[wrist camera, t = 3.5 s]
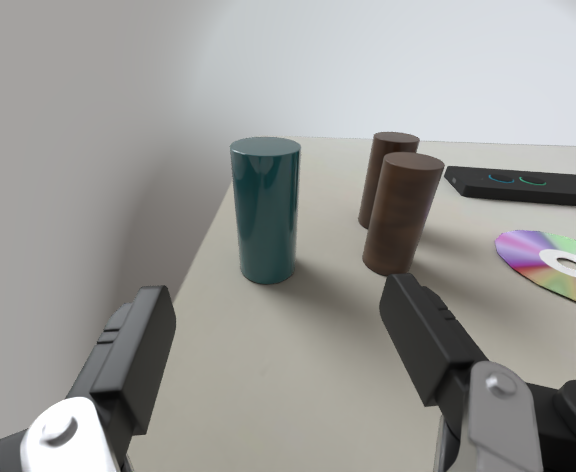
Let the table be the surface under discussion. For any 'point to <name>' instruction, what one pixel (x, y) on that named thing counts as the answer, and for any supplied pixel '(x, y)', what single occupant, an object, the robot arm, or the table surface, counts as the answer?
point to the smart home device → (513, 185)
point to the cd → (540, 258)
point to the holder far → (380, 148)
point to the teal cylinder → (266, 206)
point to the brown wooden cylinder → (400, 210)
